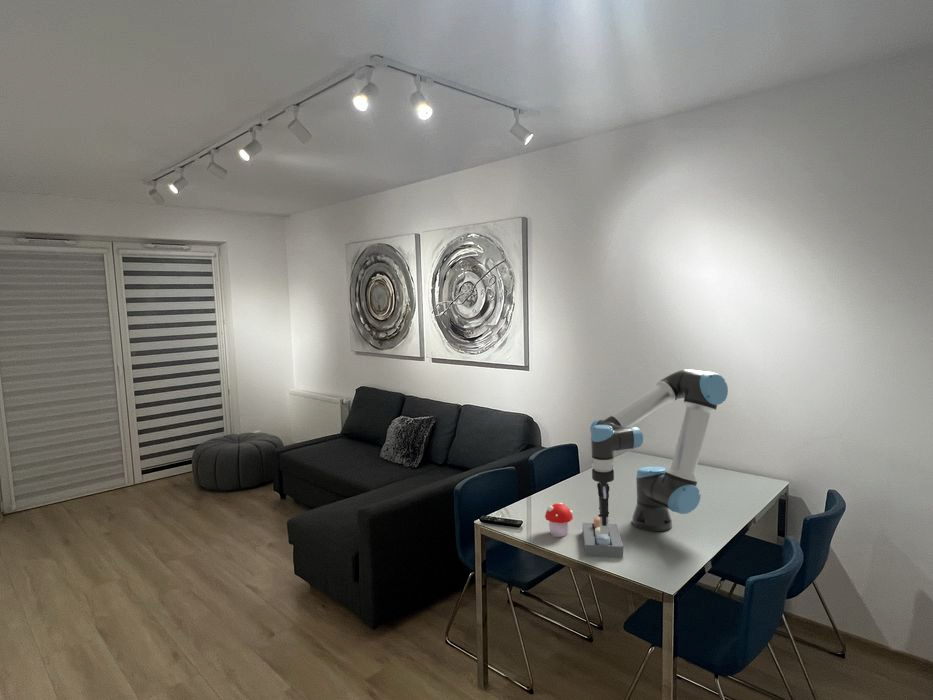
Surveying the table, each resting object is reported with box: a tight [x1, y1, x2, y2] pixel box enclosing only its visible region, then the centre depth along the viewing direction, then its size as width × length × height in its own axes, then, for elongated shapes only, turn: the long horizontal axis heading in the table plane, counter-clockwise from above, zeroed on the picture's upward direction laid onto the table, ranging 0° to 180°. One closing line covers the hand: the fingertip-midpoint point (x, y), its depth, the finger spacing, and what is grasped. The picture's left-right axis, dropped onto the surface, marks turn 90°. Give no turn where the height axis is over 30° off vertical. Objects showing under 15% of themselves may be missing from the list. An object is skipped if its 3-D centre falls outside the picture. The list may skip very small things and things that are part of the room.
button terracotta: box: [593, 516, 600, 530], centre depth 206 cm, size 5×5×4 cm
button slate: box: [596, 534, 610, 545], centre depth 193 cm, size 5×5×4 cm
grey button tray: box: [582, 522, 624, 559], centre depth 199 cm, size 13×20×4 cm, turn 171°
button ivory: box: [595, 527, 608, 537], centre depth 199 cm, size 5×5×4 cm
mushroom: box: [544, 502, 574, 538], centre depth 209 cm, size 11×11×12 cm
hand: (604, 532), depth 193 cm, fingers closed
